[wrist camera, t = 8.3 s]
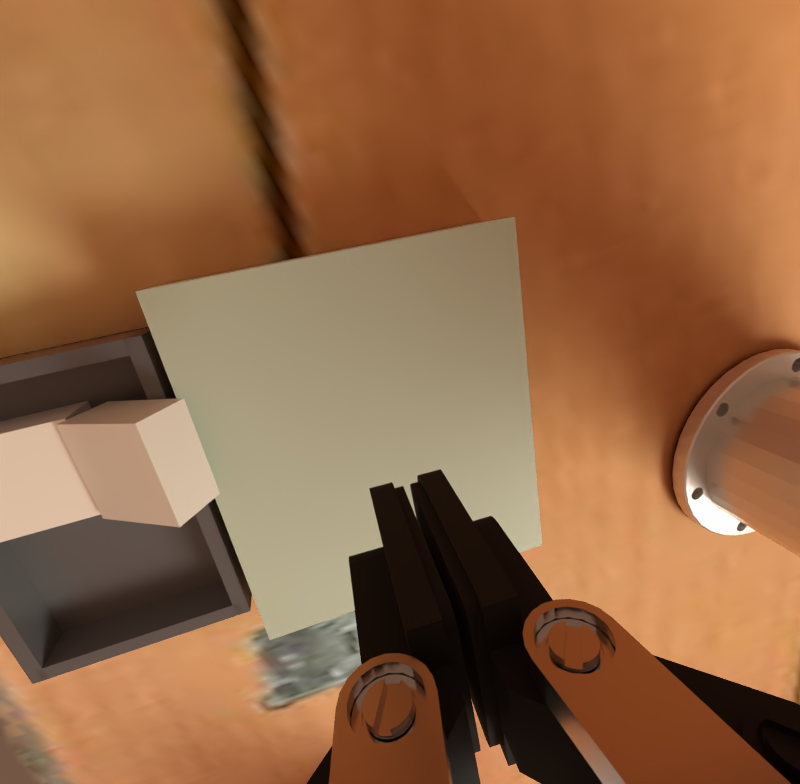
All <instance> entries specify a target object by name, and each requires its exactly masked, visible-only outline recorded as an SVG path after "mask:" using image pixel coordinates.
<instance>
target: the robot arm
mask: <svg viewBox="0 0 800 784" xmlns="http://www.w3.org/2000/svg"><path fill="white" fill-rule="evenodd" d="M672 474H673V487H674V492H675V495H676V499H677V502H678V504H679V505H680V507H681V509H682V510H683V512H684V513H685V514H686V515H687V516H688V517H689V518H690V519H691V520H692V521H694V522H695V523H697V524H698V525H700V526H702V527H703V528H705V529H707V530H708V531H710V532H713V533H716V534H720V535H733V536H734V535H740V534H746V533H750V532H753V531H757V532H759V533H760V534H762V535H764V536H765V537H767V538H769V539H771V540H772V541H774V542H776V543H777V544H779V545H781V546H782V547H784V548H786V549H788V550H789V551H791V552H793V553H794V554H796V555H798V556H799V557H800V351H799V350H794V349H774V350H770V351H766V352H762V353H759V354H757V355H755V356H752V357H750V358H748V359H746V360H744V361H742V362H741V363H739V364H738V365H736V366H735V367H734V368H732V369H731V370H729V371H728V372H726V373H725V374H724V375H723V376H722V377H721V378H720V379H719V380H718V381H717V382H716V383H714V384H713V385H712V386H711V387H710V389H709V390H708V391H707V392H706V393H705V395H704V396H703V397H702V398H701V400H700V401H699V402H698V403H697V405H696V407H695V408H694V410H693V412H692V413H691V415H690V416H689V418H688V420H687V422H686V424H685V426H684V428H683V431H682V433H681V435H680V438H679V441H678V444H677V448H676V452H675V455H674V463H673V472H672ZM417 480H418V482H415V483H412V484H410V488H411V493H412V498H413V503H414V508H415V513H416V516H415V514H414V511H413V509H412V506H411V504H410V501H409V499H408V496H407V494H406V492H405V489H404V487H403V486H401V487H397V488H394V485H393V483H392V482H391V483H387V484H383V485H380V486H376V487H372V488H369V490H370V494H371V498H372V502H373V507H374V511H375V515H376V519H377V523H378V527H379V532H380V536H381V540H382V544H383V547H380V548H377V549H373V550H370V551H366V552H363V553H359V554H356V555H352V556H349V567H350V575H351V583H352V591H353V599H354V607H355V615H356V623H357V631H358V639H359V647H360V655H361V663H362V665H360V666H359V667H358V668H357V669H356V670H355V671H354V672H353V673H352V674H351V675H350V676H349V677H348V678H347V680H346V682H345V684H344V686H343V687H342V689H341V691H340V693H339V697H338V701H337V706H336V711H335V722H334V733H333V744H332V747H331V748H330V750H329V751H328V753H327V754H326V756H325V757H324V759H323V760H322V762H321V763H320V765H319V766H318V768H317V769H316V771H315V772H314V774H313V775H312V777H311V778H310V779H309V781H308V782H307V784H480V779H479V774H478V768H477V763H476V758H475V753H476V752H478V751H480V744H479V738H478V733H477V728H476V722H475V717H474V712H473V706H472V702H473V704H474V707H475V710H476V713H477V715H478V718H479V721H480V724H481V726H482V729H483V732H484V735H485V737H486V740H487V742H488V745H489V746H490V747H492V746H495V745H498V744H500V745H501V748H502V750H503V753H504V755H505V758H506V761H507V763H508V766H510V765H513V764H517V766H518V769H519V771H520V772H521V773H523V774H525V775H527V776H528V777H530V778H532V779H534V780H536V781H537V782H539V783H541V784H800V705H799V704H796V703H794V702H791V701H788V700H785V699H782V698H779V697H776V696H773V695H770V694H767V693H764V692H761V691H758V690H755V689H752V688H749V687H746V686H743V685H740V684H738V683H735V682H732V681H729V680H726V679H723V678H720V677H717V676H714V675H711V674H708V673H705V672H702V671H699V670H696V669H693V668H690V667H687V666H684V665H681V664H678V663H675V662H672V661H669V660H666V659H663V658H660V657H657V656H654V655H652V654H651V653H650V652H649V651H648V650H647V649H645V648H644V647H643V646H642V645H641V644H640V643H639V642H638V641H637V640H636V639H635V638H634V637H633V636H631V635H630V634H629V633H628V632H627V631H626V630H625V629H624V628H623V627H622V626H621V625H620V624H619V623H617V622H616V621H615V620H614V619H613V618H612V617H611V616H609V615H608V614H607V613H605V612H604V611H602V610H601V609H600V608H598V607H595V606H593V605H591V604H588V603H586V602H582V601H577V600H572V599H560V600H552V598H551V597H550V595H549V594H548V593H547V591H546V590H545V588H544V587H543V586H542V584H541V583H540V581H539V580H538V579H537V577H536V576H535V574H534V573H533V571H532V570H531V569H530V567H529V566H528V564H527V563H526V562H525V560H524V559H523V557H522V556H521V554H520V553H519V552H518V550H517V549H516V547H515V546H514V545H513V543H512V542H511V540H510V539H509V538H508V536H507V535H506V533H505V532H504V530H503V529H502V528H501V526H500V525H499V523H498V522H497V521H496V519H495V518H494V517H492V516H488V517H485V518H481V519H478V520H474V521H473V520H472V519H471V517H470V515H469V514H468V512H467V511H466V509H465V507H464V506H463V504H462V503H461V501H460V499H459V498H458V496H457V494H456V493H455V491H454V490H453V488H452V486H451V485H450V483H449V481H448V480H447V478H446V477H445V475H444V473H443V472H442V470H441V469H439V470H435V471H432V472H428V473H424V474H421V475H417ZM416 518H417V519H416ZM471 699H472V701H471Z"/></svg>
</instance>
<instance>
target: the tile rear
mask: <svg viewBox="0 0 800 784" xmlns="http://www.w3.org/2000/svg"><path fill="white" fill-rule="evenodd" d="M90 409H92V408H91V406H90V404H89V402H88V401H85V402H81V403H77V404H72V405H68V406H64V407H60V408H55V409H51V410H47V411H43V412H38V413H34V414H30V415H26V416H21V417H17V418H13V419H9V420H4V421H0V542H4V541H7V540H11V539H15V538H18V537H22V536H25V535H29V534H33V533H36V532H40V531H43V530H47V529H50V528H54V527H58V526H61V525H65V524H68V523H72V522H76V521H79V520H83V519H86V518H90V517H93V516H97V515H101V514H100V512H99V510H98V508H97V506H96V504H95V502H94V500H93V498H92V496H91V494H90V492H89V490H88V488H87V486H86V484H85V482H84V480H83V478H82V476H81V474H80V472H79V470H78V468H77V466H76V464H75V462H74V460H73V458H72V456H71V454H70V452H69V450H68V448H67V446H66V444H65V442H64V440H63V438H62V436H61V434H60V432H59V430H58V428H57V426H56V424H58V423H60V422H63V421H65V420H67V419H69V418H72V417H74V416H76V415H78V414H81V413H83V412H85V411H88V410H90Z"/></svg>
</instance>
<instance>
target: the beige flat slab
mask: <svg viewBox="0 0 800 784" xmlns="http://www.w3.org/2000/svg"><path fill="white" fill-rule="evenodd" d="M135 293H136V295H137V298H138V301H139V303H140V306H141V308H142V311H143V313H144V316H145V319H146V321H147V324H148V326H149V329H150V332H151V334H152V337H153V339H154V342H155V344H156V347H157V350H158V352H159V355H160V357H161V360H162V363H163V365H164V368H165V370H166V373H167V375H168V378H169V381H170V383H171V386H172V388H173V391H174V394H175V396H176V399H178V398H184V400H185V403H186V405H187V408H188V410H189V413H190V416H191V418H192V421H193V424H194V426H195V429H196V431H197V434H198V437H199V439H200V442H201V445H202V447H203V450H204V453H205V455H206V458H207V460H208V463H209V466H210V468H211V471H212V474H213V476H214V479H215V481H216V484H217V487H218V489H219V492H220V494H219V495H218V496H216V497H215V500H216V502H217V505H218V507H219V510H220V512H221V515H222V518H223V520H224V523H225V525H226V528H227V531H228V533H229V536H230V538H231V541H232V543H233V546H234V549H235V551H236V554H237V556H238V559H239V562H240V564H241V567H242V569H243V572H244V574H245V577H246V580H247V582H248V585H249V587H250V590H251V593H252V595H253V598H254V600H255V603H256V605H257V608H258V611H259V613H260V616H261V618H262V621H263V624H264V626H265V629H266V631H267V634H268V637H269V639H270V640H272V639H275V638H277V637H280V636H283V635H286V634H289V633H292V632H295V631H297V630H300V629H303V628H306V627H309V626H312V625H314V624H317V623H320V622H323V621H326V620H329V619H332V618H334V617H337V616H340V615H343V614H346V613H349V612H352V611H354V610H355V607H354V599H353V591H352V583H351V575H350V567H349V556H352V555H356V554H359V553H363V552H366V551H370V550H373V549H377V548H380V547H383V544H382V540H381V536H380V532H379V527H378V523H377V519H376V515H375V511H374V507H373V502H372V498H371V494H370V490H369V488H372V487H376V486H380V485H383V484H387V483H391V482H392V483H393V485H394V488H397V487H401V486H403V487H404V489H405V492H406V494H407V496H408V499H409V501H410V504H411V506H412V509H413V511H414V514H415V516H416V513H415V508H414V503H413V498H412V493H411V488H410V484H412V483H415V482H418V480H417V475H421V474H424V473H428V472H432V471H435V470H439V469H441V470H442V472H443V473H444V475H445V477H446V478H447V480H448V481H449V483H450V485H451V486H452V488H453V490H454V491H455V493H456V494H457V496H458V498H459V499H460V501H461V503H462V504H463V506H464V507H465V509H466V511H467V512H468V514H469V515H470V517H471V519H472V520H473V521H474V520H478V519H481V518H485V517H488V516H492V517H494V518H495V519H496V521H497V522H498V523H499V525H500V526H501V528H502V529H503V530H504V532H505V533H506V535H507V536H508V538H509V539H510V540H511V542H512V543H513V545H514V546H515V547H516V549H517V550H518V552H519V553H520V552H523V551H526V550H529V549H531V548H534V547H537V546H540V545H542V537H541V525H540V513H539V501H538V489H537V477H536V464H535V452H534V440H533V428H532V416H531V403H530V391H529V379H528V367H527V355H526V342H525V330H524V318H523V306H522V294H521V281H520V269H519V257H518V245H517V233H516V220H515V217H508V218H502V219H495V220H488V221H482V222H477V223H472V224H467V225H462V226H456V227H451V228H446V229H441V230H436V231H431V232H426V233H421V234H416V235H411V236H406V237H401V238H396V239H390V240H385V241H380V242H375V243H370V244H365V245H360V246H355V247H350V248H345V249H340V250H335V251H329V252H324V253H319V254H314V255H309V256H304V257H299V258H294V259H289V260H284V261H279V262H274V263H269V264H263V265H258V266H253V267H248V268H243V269H238V270H233V271H228V272H223V273H218V274H213V275H208V276H202V277H197V278H192V279H187V280H182V281H177V282H172V283H167V284H162V285H157V286H154V287H150V288H146V289H143V290H139V291H135ZM416 519H417V518H416Z"/></svg>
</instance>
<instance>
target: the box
mask: <svg viewBox="0 0 800 784" xmlns="http://www.w3.org/2000/svg"><path fill="white" fill-rule="evenodd" d="M154 399H176V396H175V394H174V391H173V388H172V386H171V383H170V381H169V378H168V375H167V373H166V370H165V368H164V365H163V363H162V360H161V357H160V355H159V352H158V350H157V347H156V344H155V342H154V339H153V337H152V334H151V332H150V329H149V327H146V328H141V329H136V330H132V331H127V332H122V333H118V334H113V335H108V336H103V337H99V338H94V339H89V340H85V341H80V342H75V343H70V344H66V345H61V346H56V347H52V348H47V349H42V350H38V351H33V352H28V353H23V354H19V355H14V356H9V357H5V358H0V421H4V420H9V419H13V418H17V417H21V416H26V415H30V414H34V413H38V412H43V411H47V410H51V409H55V408H60V407H64V406H68V405H72V404H77V403H81V402H85V401H88V402H89V404H90V406H91V408H94V407H97V406H99V405H101V404H103V403H106V402H108V401H129V400H154ZM251 596H252V593H251V590H250V587H249V585H248V582H247V580H246V577H245V574H244V572H243V569H242V567H241V564H240V562H239V559H238V556H237V554H236V551H235V549H234V546H233V543H232V541H231V538H230V536H229V533H228V531H227V528H226V525H225V523H224V520H223V518H222V515H221V512H220V510H219V507H218V505H217V502H216V500H215V498H214V499H213V500H212V501H211V502H209V503H208V504H207V505H206V506H205V507H203V508H202V509H201V510H200V511H199V512H198V513H196V514H195V515H194V516H193V517H192V518H190V519H189V520H188V521H187V522H186V523H185V524H183V525H182V526H181V527H172V526H164V525H155V524H146V523H137V522H128V521H119V520H110V519H103V518H102V516H101V515H97V516H93V517H90V518H86V519H83V520H79V521H76V522H72V523H68V524H65V525H61V526H58V527H54V528H50V529H47V530H43V531H40V532H36V533H33V534H29V535H25V536H22V537H18V538H15V539H11V540H7V541H4V542H0V636H1V638H2V639H3V641H4V642H5V644H6V645H7V647H8V648H9V649H10V651H11V652H12V654H13V655H14V657H15V658H16V660H17V661H18V663H19V664H20V666H21V667H22V669H23V670H24V672H25V673H26V675H27V676H28V678H29V679H30V680H31V682H32V683H33V684H34V683H37V682H40V681H43V680H46V679H49V678H52V677H55V676H58V675H61V674H64V673H67V672H70V671H73V670H76V669H79V668H82V667H85V666H88V665H91V664H94V663H97V662H99V661H102V660H105V659H108V658H111V657H114V656H117V655H120V654H123V653H126V652H129V651H132V650H135V649H138V648H141V647H144V646H147V645H150V644H153V643H156V642H159V641H162V640H165V639H168V638H171V637H174V636H177V635H180V634H183V633H186V632H189V631H192V630H195V629H198V628H201V627H204V626H207V625H210V624H213V623H216V622H219V621H222V620H225V619H228V618H231V617H234V616H236V615H239V614H242V613H245V612H248V611H250V607H251Z"/></svg>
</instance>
